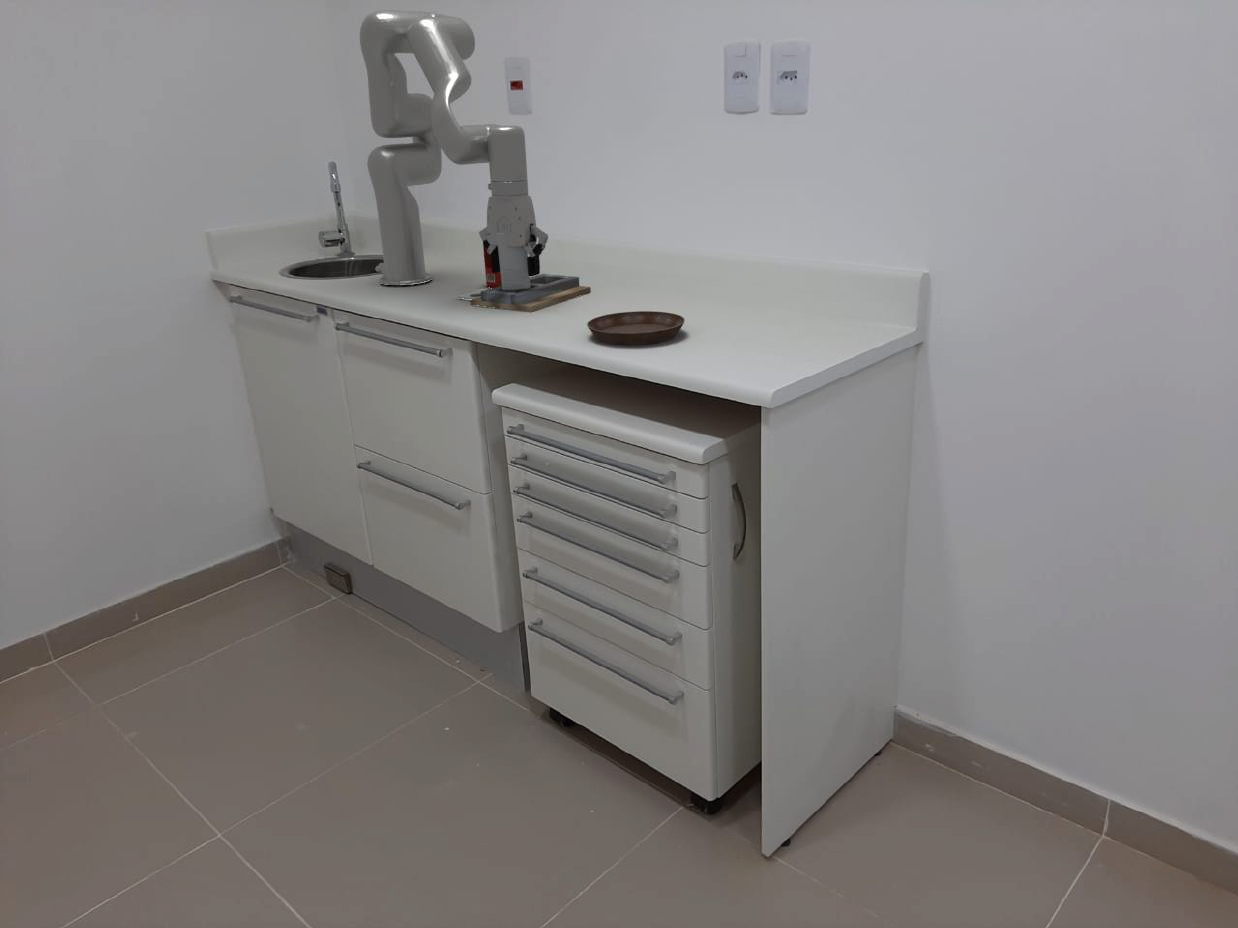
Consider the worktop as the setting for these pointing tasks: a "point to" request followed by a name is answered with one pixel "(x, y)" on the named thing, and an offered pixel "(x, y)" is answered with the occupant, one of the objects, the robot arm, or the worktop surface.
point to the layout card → (472, 294)
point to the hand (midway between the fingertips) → (515, 273)
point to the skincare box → (512, 265)
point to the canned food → (491, 278)
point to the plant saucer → (636, 327)
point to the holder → (533, 293)
